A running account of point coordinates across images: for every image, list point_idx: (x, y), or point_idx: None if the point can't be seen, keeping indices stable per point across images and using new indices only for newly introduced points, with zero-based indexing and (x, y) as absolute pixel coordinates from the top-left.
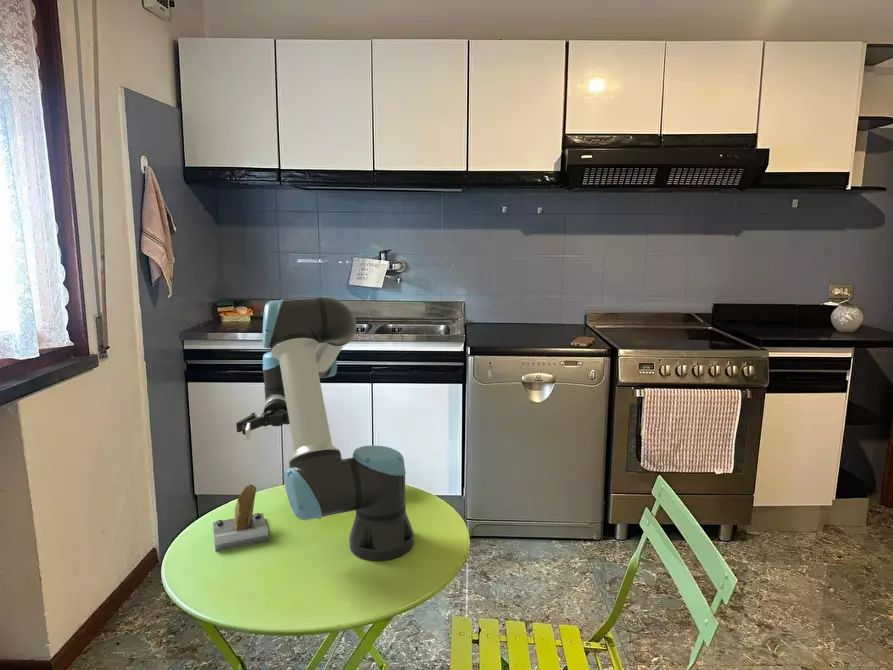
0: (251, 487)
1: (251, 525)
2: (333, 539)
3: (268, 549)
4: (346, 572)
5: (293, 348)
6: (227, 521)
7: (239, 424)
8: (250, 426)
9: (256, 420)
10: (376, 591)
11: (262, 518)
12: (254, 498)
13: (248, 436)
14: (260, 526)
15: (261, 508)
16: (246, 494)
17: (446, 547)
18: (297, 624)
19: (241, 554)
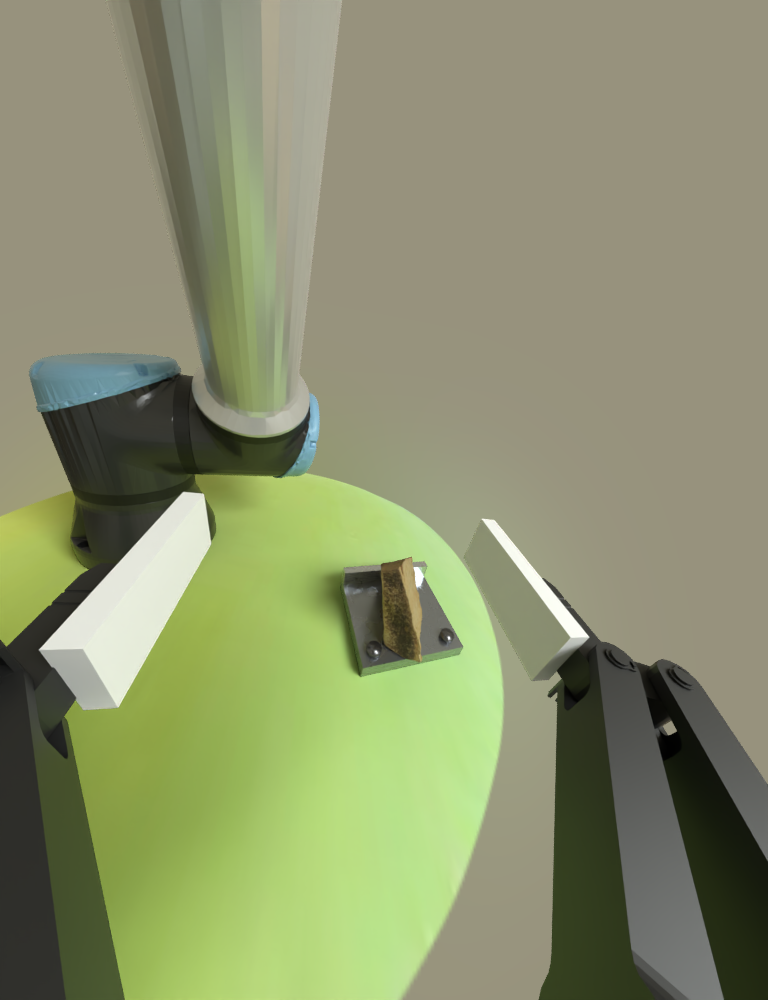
0: (392, 567)
1: (378, 615)
2: (227, 564)
3: (339, 565)
4: (243, 505)
5: None
6: (434, 643)
7: (650, 667)
8: (579, 707)
9: (603, 770)
10: (226, 480)
11: (360, 640)
12: (383, 599)
13: (470, 543)
14: (357, 572)
15: (375, 751)
16: (397, 561)
17: (61, 507)
18: (309, 475)
19: (377, 563)
